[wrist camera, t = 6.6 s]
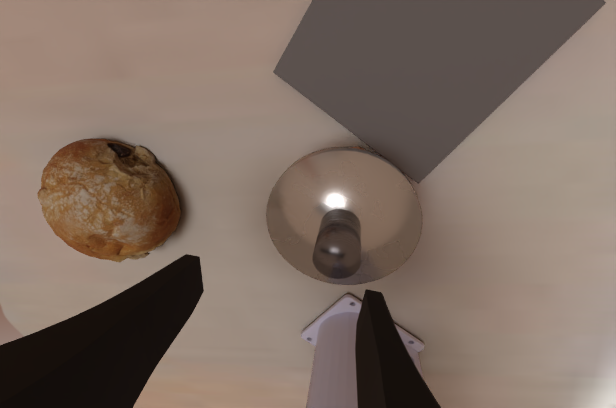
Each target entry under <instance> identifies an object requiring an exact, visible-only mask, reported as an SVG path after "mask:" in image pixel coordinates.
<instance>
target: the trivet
mask: <svg viewBox="0 0 616 408" xmlns="http://www.w3.org/2000/svg"><path fill="white" fill-rule="evenodd" d="M605 3H606V2H605V1H604V0H312V2H311V4H310V6H309V8H308V10H307V11H306V13H305V15H304V17H303V19H302V20H301V22H300V24H299V26H298V28H297V30H296V31H295V33H294V35H293V37H292V39H291V41H290V42H289V44H288V46H287V48H286V50H285V51H284V53H283V55H282V57H281V59H280V61H279V62H278V64H277V66H276V68H275V70H274V71H273V72H274V73H275V74H276V75H278V76H279V77H280V78H282V79H283V80H284V81H285V82H287V83H288V84H289V85H291V86H292V87H293V88H295V89H296V90H297V91H298V92H300V93H301V94H302V95H304V96H305V97H306V98H308V99H309V100H310V101H311V102H313V103H314V104H315V105H317V106H318V107H319V108H321V109H322V110H323V111H324V112H326V113H327V114H328V115H330V116H331V117H332V118H334V119H335V120H336V121H338V122H339V123H340V124H341V125H343V126H344V127H345V128H347V129H348V130H349V131H351V132H352V133H353V134H354V135H356V136H357V137H358V138H360V139H361V140H362V141H364V142H365V143H366V144H367V145H369V146H370V147H371V148H373V149H374V150H375V151H377V152H378V153H379V154H380V155H382V156H383V157H384V158H386V159H387V160H388V161H390V162H391V163H392V164H394V165H395V166H396V167H397V168H399V169H400V170H401V171H403V172H404V173H405V174H407V175H408V176H409V177H410V178H412V179H413V180H414V181H416V182H417V183H420V182H421V181H422V180H423V179H424V178H425V177H426V176H427V175H428V174H429V173H430V172H431V171H432V170H433V169H434V168H435V167H436V166H437V165H438V164H439V163H440V162H441V161H442V160H443V159H444V158H445V157H447V156H448V155H449V154H450V153H451V152H452V151H453V150H454V149H455V148H456V147H457V146H458V145H459V144H460V143H461V142H462V141H463V140H464V139H465V138H466V137H467V136H468V135H469V134H470V133H471V132H472V131H474V130H475V129H476V128H477V127H478V126H479V125H480V124H481V123H482V122H483V121H484V120H485V119H486V118H487V117H488V116H489V115H490V114H491V113H492V112H493V111H494V110H495V109H496V108H497V107H498V106H499V105H501V104H502V103H503V102H504V101H505V100H506V99H507V98H508V97H509V96H510V95H511V94H512V93H513V92H514V91H515V90H516V89H517V88H518V87H519V86H520V85H521V84H522V83H523V82H524V81H525V80H526V79H528V78H529V77H530V76H531V75H532V74H533V73H534V72H535V71H536V70H537V69H538V68H539V67H540V66H541V65H542V64H543V63H544V62H545V61H546V60H547V59H548V58H549V57H550V56H551V55H552V54H553V53H555V52H556V51H557V50H558V49H559V48H560V47H561V46H562V45H563V44H564V43H565V42H566V41H567V40H568V39H569V38H570V37H571V36H572V35H573V34H574V33H575V32H576V31H577V30H578V29H579V28H580V27H581V26H583V25H584V24H585V23H586V22H587V21H588V20H589V19H590V18H591V17H592V16H593V15H594V14H595V13H596V12H597V11H598V10H599V9H600V8H601V7H602V6H603V5H604V4H605Z"/></svg>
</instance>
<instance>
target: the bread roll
mask: <svg viewBox="0 0 616 408" xmlns="http://www.w3.org/2000/svg"><path fill="white" fill-rule="evenodd" d="M41 182H42V183H41V189H40V190H39V192H38V199H39V201H40V203H41V205H42V211H43V214H44V217H45V219H46V221H47V223H48V224H49V225H50V227H51V228H52V229H53V231H54V233H55V234H56V235H57V236H58V237H60V238H61V239H62V240H63V241H64V242H66V243H67V244H68V245H69V246H70V247H72V248H74V249H75V250H77V251H79V252H81V253H83V254H86V255H88V256H91V257H96V258H99V259H107V260H112V261H116V262H121V261H123V260H125V259H126V258H130V259H139V258H144V257H146V256H147V255H149V254H150V253H148V252H149V251H152V250H154V249H155V248H156V247H158V246H160V245H162V244H164V243H165V241H166V239H167V238H168V237H169V236H170V235H171V234H172V232H173V231H175V230H176V227H177V224H178V222H179V218H180V214H181V211H180V209H179V198H178V196H177V194H176V192H175V189H174V187H173V184H172V182H171V180H170V178H169V177H168V175H167V174H166V172H165V171H164V170H163V169H162V168H161V167H160V166H159V165H157V164H156V162H155V156H154V155H153V154H152V153H151V152H149V151H148V150H147V149H145V148H142V147H139V146H137V145H136V148H133V147H131V146H129V145H126V144H122V143H119V142H115V141H109V140H106V139H83V140H79V141H76V142H73V143H71V144H69V145H67V146H65V147H63V148H62V149H60V150H59V151H58V152H57V153H56V154H55V155H54V156H53V157H52V158H51V160H50V161H49V162H48V164H47V166H46V167H45V168H44V170H43V174H42V178H41Z"/></svg>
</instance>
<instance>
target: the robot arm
mask: <svg viewBox="0 0 616 408" xmlns="http://www.w3.org/2000/svg"><path fill="white" fill-rule="evenodd" d="M203 291H204V290H203V282H202V274H201V266H200V257H198V256H192V255H187V254H186V255H184V256H183V257H181V258H179V259H177V260H176V261H174V262H173V263H171V264H169V265H168V266H166V267H164V268H163V269H161V270H159V271H158V272H156V273H154V274H153V275H151V276H149V277H148V278H146V279H144V280H143V281H141V282H139V283H138V284H136V285H134V286H132V287H131V288H129V289H127V290H125V291H123V292H121V293H120V294H118V295H116V296H114V297H112V298H111V299H109V300H107V301H105V302H103V303H101V304H99V305H97V306H95V307H93V308H91V309H89V310H86V311H84V312H82V313H80V314H78V315H76V316H74V317H71V318H69V319H67V320H64V321H62V322H59V323H57V324H55V325H52V326H50V327H47V328H45V329H43V330H40V331H38V332H35V333H33V334H30V335H27V336H25V337H22V338H19V339H17V340H14V341H11V342H8V343H6V344H3V345H0V408H133V406H134V404H135V402H136V400H137V399H138V397H139V395H140V393H141V391H142V390H143V388H144V386H145V384H146V383H147V381H148V379H149V377H150V376H151V374H152V372H153V371H154V369H155V367H156V366H157V364H158V363H159V361H160V360H161V358H162V357H163V355H164V354H165V352H166V351H167V349H168V348H169V347H170V345H171V344H172V342H173V341H174V339H175V338H176V336H177V335H178V333H179V332H180V331H181V329H182V328H183V326H184V325H185V323H186V322H187V320H188V319H189V317H190V316H191V314H192V313H193V311H194V309H195V307H196V305H197V303H198V301H199V299H200V297H201V295H202V293H203ZM351 302H354V303H351ZM301 337H302V338H303V339H304V340H306V341H308V342H309V343H311V344H312V345H314V346H316V348H315V354H314V360H313V367H312V373H311V379H310V386H309V392H308V399H307V405H306V408H441V407H440V405H439V404H438V402H437V401H436V399H435V398H434V396H433V395H432V393H431V391H430V390H429V388H428V387H427V385H426V383H425V382H424V380H423V375H422V370H421V365H420V360H419V355H418V352H420V351H422V350H423V349H424V348H425V347H424V343H423V342H421V341H420V340H418V339H417V338H415V337H414V336H412V335H411V334H409V333H408V332H406V331H405V330H403V329H402V328H400V327H399V326H397V325H396V324H394V322H393V319H392V317H391V315H390V312H389V310H388V307H387V305H386V302H385V299H384V297H383V294H382V293H381V292H376V291H371V290H366V291H365V294H364V298H363V302H361V301H360V300H358V299H357V298H355V297H353V296H352V295H349V294H347V295H344V296H343V297H342V298H341V299H340V300H338V301H337V302H336V303H335V304H334V305H333V306H331V307H330V308H329V309H328V310H327V311H326V312H324V313H323V314H322V315H321V316H320V317H318V318H317V319H316V320H315V321H314V322H313V323H311V324H310V325H309V326H308V327H307V328H306V329H304V330H303V331H302V332H301Z"/></svg>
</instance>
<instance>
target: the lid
mask: <svg viewBox="0 0 616 408" xmlns="http://www.w3.org/2000/svg"><path fill="white" fill-rule="evenodd" d="M266 216H267V226H268V230H269V234H270V237H271V239H272V241H273V243H274V245H275V247H276V248H277V250H278V251H279V253H280V254H281V255H282V256H283V258H284V259H285V260H287V261H288V262H289V263H290V264H291V265H292V266H293V267H295V268H296V269H297V270H299V271H301V272H302V273H304V274H306V275H308V276H310V277H312V278H315V279H317V280H320V281H324V282H327V283H333V284H341V285H355V284H363V283H367V282H372V281H375V280H378V279H380V278H383V277H385V276H387V275H389V274H390V273H392V272H393V271H395V270H396V269H398V268H399V267H400V266H401V265H402V264H404V263H405V261H406V260H407V259H408V258H409V257H410V256H411V254H412V253H413V251H414V250H415V248H416V245H417V243H418V241H419V238H420V234H421V229H422V213H421V208H420V204H419V201H418V198H417V196H416V193H415V191H414V189H413V187H412V185H411V184H410V182H409V180H408V179H407V178H406V177H405V175H404V174H403V173H402V172H401V171H400V170H399V169H398V168H397V167H396V166H395V165H393V164H392V163H391V162H389V161H388V160H386V159H384V158H382V157H381V156H379V155H377V154H374V153H371V152H369V151H365V150H361V149H357V148H347V147H337V148H328V149H323V150H319V151H316V152H313V153H311V154H308V155H306V156H304V157H302V158H301V159H299V160H297V161H296V162H295V163H293V164H292V165H291V166H290V167H289V168H288V169H287V170H286V171H285V172H284V173H283V174H282V176H281V177H280V178H279V180H278V181H277V183H276V184H275V186H274V188H273V190H272V192H271V194H270V197H269V200H268V204H267V212H266Z"/></svg>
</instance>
